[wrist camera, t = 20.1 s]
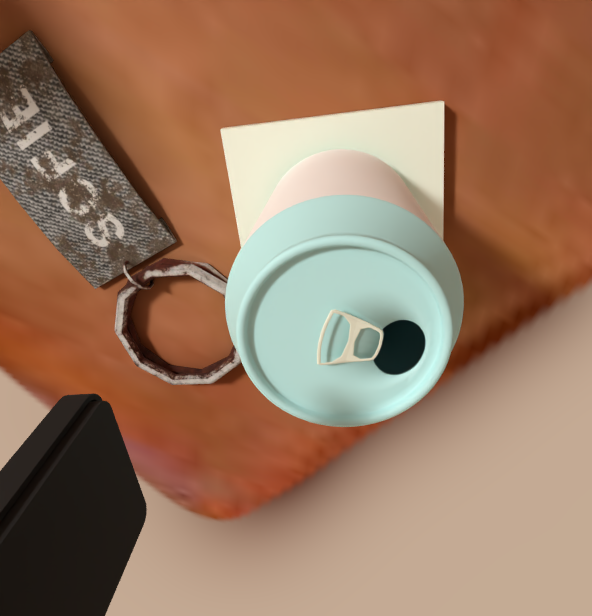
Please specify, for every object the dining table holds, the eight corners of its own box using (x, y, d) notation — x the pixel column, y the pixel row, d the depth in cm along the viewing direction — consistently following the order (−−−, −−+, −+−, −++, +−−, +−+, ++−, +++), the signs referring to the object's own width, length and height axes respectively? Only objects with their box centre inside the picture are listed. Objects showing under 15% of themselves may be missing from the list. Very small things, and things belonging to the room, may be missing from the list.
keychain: (63, 12, 22) (38, 6, 20) (279, 341, 28) (276, 359, 27) (-54, 106, 24) (-85, 108, 22) (173, 392, 30) (163, 412, 29)
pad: (440, 100, 22) (444, 101, 21) (439, 302, 26) (442, 308, 25) (223, 127, 23) (220, 129, 22) (256, 316, 27) (254, 323, 26)
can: (380, 119, 22) (426, 159, 11) (433, 257, 24) (513, 401, 13) (242, 186, 23) (162, 279, 12) (305, 308, 26) (282, 473, 15)
